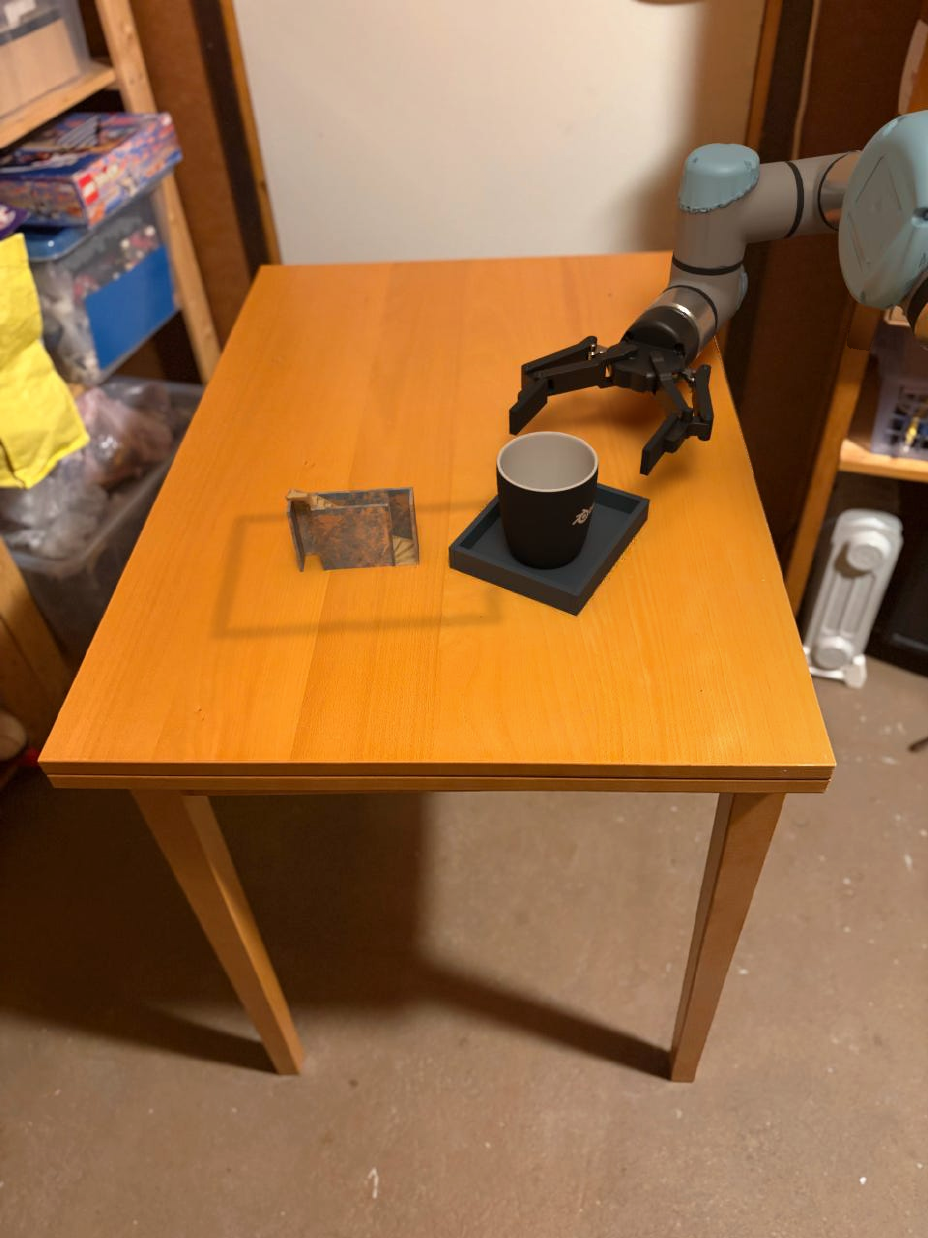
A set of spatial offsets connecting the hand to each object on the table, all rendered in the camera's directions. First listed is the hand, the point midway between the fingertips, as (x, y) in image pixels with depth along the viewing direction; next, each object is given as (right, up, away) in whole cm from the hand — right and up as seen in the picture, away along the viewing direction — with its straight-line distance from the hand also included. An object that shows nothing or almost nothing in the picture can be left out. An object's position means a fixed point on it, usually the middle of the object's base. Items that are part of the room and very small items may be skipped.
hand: (576, 442), depth 86 cm
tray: (-2, -9, +4) cm, 10 cm away
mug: (-2, -9, +3) cm, 10 cm away
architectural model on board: (-20, -11, +4) cm, 23 cm away
